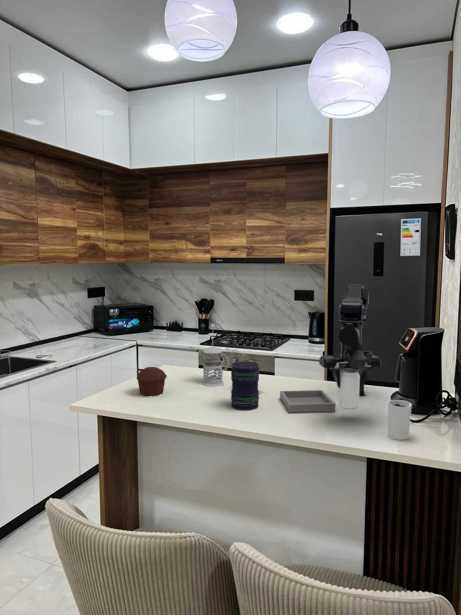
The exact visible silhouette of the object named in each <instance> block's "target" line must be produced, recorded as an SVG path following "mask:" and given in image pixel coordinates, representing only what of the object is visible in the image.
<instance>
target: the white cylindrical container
mask: <svg viewBox="0 0 461 615" xmlns="http://www.w3.org/2000/svg"><path fill="white" fill-rule="evenodd" d="M411 416H412V403H411V402H408V401H407V400H401V399H390V400H389V401H387V436H388V438H390V439H394V440H398V441H405V440H408V439H409V436H410V435H409V434H410V427H411V426H410V425H411Z"/></svg>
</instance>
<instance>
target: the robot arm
mask: <svg viewBox="0 0 461 615" xmlns="http://www.w3.org/2000/svg"><path fill="white" fill-rule="evenodd" d="M369 294H370V292H369V290H367V289H366V288H365V287H364V284H356V283H355V284H353V283H352V284H348V288H347V289H345V290H344V299H342V300H341V303H339V305H338V315H337V316H338V317H337V324H341V329H340V330H339V333H338V340H339V344H340V346H341V347H340V353H339V357H340V358H335V357H334V356H333V355H321V356H320V357H319V359H318V360H319V365H320V367H322V368H324V369H329V370H331V372H332V375H333V377H334V379H335V383H336V386H337V388H338V389H339V388H340V372H341V369H344V368H352V369H356V370H358V371H359V372H358V373H359V375H360V387H359V397H360V396H366V393H365V381H367V380H369V371H371V370H374V368H381V367H382V359H381V358H380V357H379V356H377V355H375V354H373V352H372V351H370V350H369V351H368V350H365V351H363V350H362V336H363V335H362V332H363V331H362V330H363V325H364V322H366V316H367V309H368V306H369V305H370V304H369V302H370V295H369ZM340 365H343V368H340Z"/></svg>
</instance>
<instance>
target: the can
mask: <svg viewBox="0 0 461 615" xmlns="http://www.w3.org/2000/svg"><path fill="white" fill-rule="evenodd" d="M343 368H344V367H343ZM343 368H340V369H341V371H340V388H338V400H337V401H338V406H339V407H340V408H341V409H344V410H356V409H358V408H359V405H360V396H359V387H360V375H359V373H358V372H359V371H358V370H356V369H352V368H344V369H343Z"/></svg>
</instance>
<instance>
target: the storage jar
mask: <svg viewBox="0 0 461 615" xmlns="http://www.w3.org/2000/svg"><path fill="white" fill-rule="evenodd" d="M230 366H231V372H230V374H231V376H230V380H231V391H230V399H231V408H232V409H234V410H237V411H253V410H257V409H258V408H259V400H260V396H259V395H260V393H259V391H260V390H259V380H260V369H259V367H260V365H259V363H258V362H256V363H254V362H243V361H236V362H233V363H231V365H230ZM258 390H259V391H258Z"/></svg>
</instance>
